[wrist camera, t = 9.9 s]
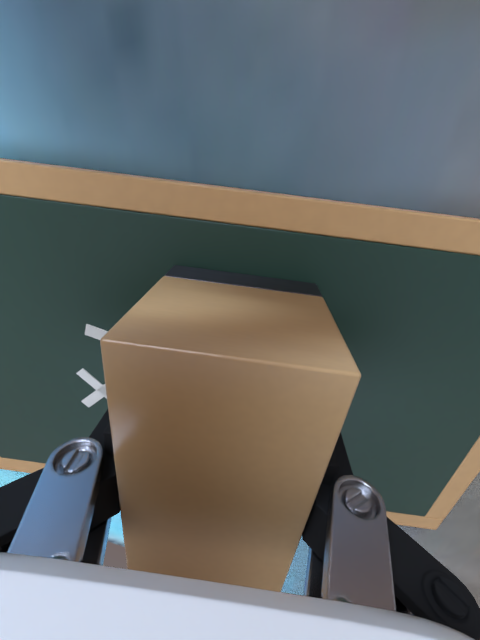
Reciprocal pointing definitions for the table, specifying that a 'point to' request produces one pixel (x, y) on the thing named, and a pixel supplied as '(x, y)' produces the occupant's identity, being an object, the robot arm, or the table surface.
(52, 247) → the slate
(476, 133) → the table surface
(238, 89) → the table surface
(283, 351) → the eraser
